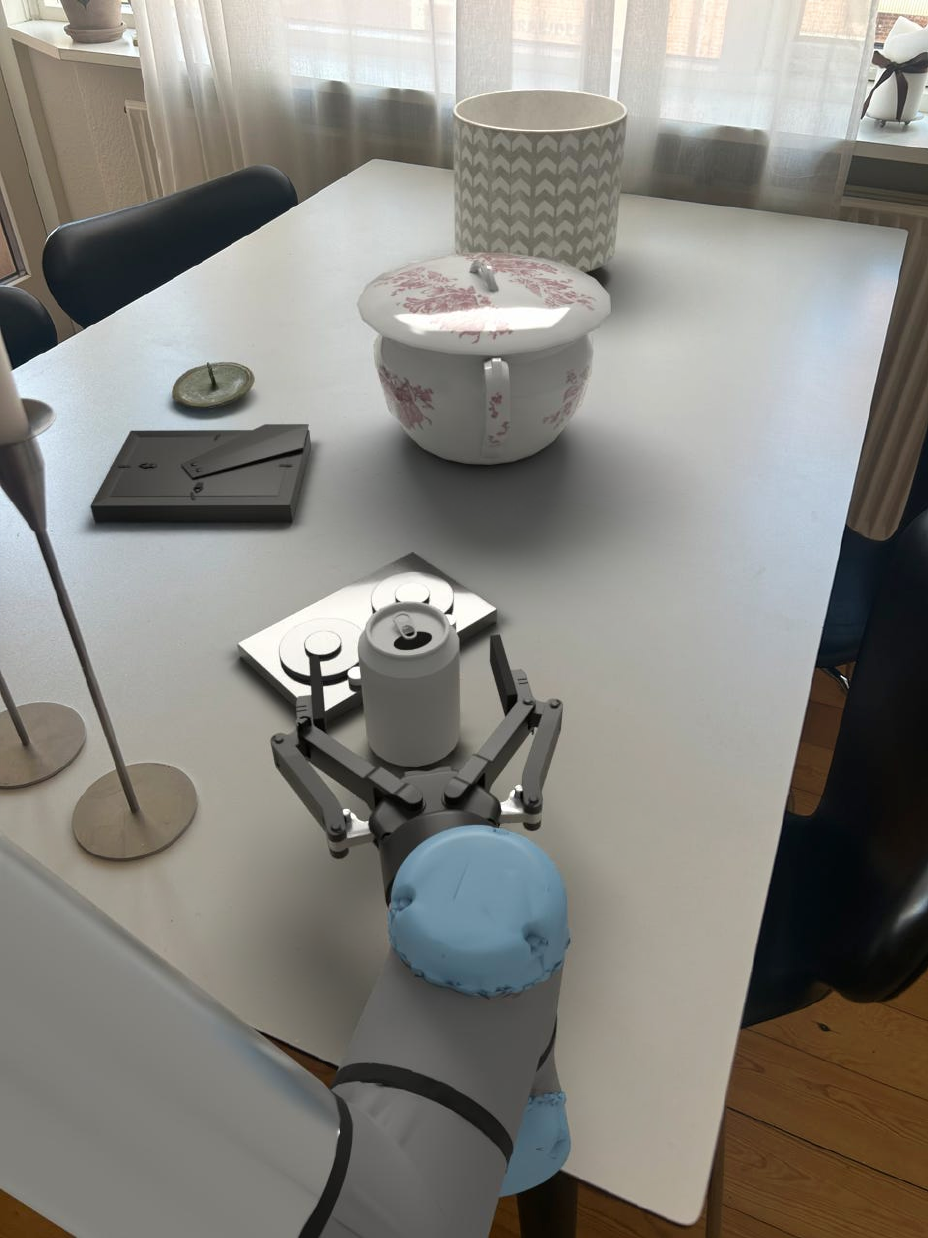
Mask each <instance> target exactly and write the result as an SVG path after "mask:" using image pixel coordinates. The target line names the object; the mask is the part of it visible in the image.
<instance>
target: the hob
mask: <svg viewBox="0 0 928 1238" xmlns="http://www.w3.org/2000/svg"><path fill="white" fill-rule="evenodd" d="M404 601H413V602H421V603H426V604H430V605H432V606H434V607H436V608H438V609H439V610H441V611H442V612H443V613H444V614H445V615H446V616H447V618H448V620H449V623H450V625H451V626H452V627H453V628H454V629H455V630H456V632H457V635H458V637H459V645H460V644H462V643H464V642H465V641H467V640H469V639H470V638H472V637H473V636H475V635H477V634H478V633H480V632H482V631H483V630H485V629H486V628H488V627H490V626H492V625H493V624H495V623H496V622H498V608H496V607H495V606H494V605H492V604H491V603H489V602H487V600H484V599H483V598H482V597H480V596H479V595H477V594H476V593H474V592H473V591H472V590H470V589H468V588H467V587H466V586H464V585H463V584H461V583H460V582H458V581H457V580H455V579H453V577H450V576H449V575H448V574H447V573H445V572H444V571H442V570H441V569H439V568H438V567H436V566H435V565H433V564H432V563H430V562H429V561H427V560H426V559H424V558H423V557H421V556H420V555H418V554H417V553H415V552H414V551H411V552H409V553H408V554H407V553H406V555H404V556H401V557H399V558H398V559H395V560H394V561H392V562H390V563H388V564H386V565H384V566H383V567H381V568H379V569H377V570H375V571H373V572H371V573H369V574H367V575H365V576H363V577H362V578H360V579H358V580H356V581H354V582H351V583H350V584H348V585H346V586H344V587H342V588H340V589H338V590H337V591H335V592H333V593H331V594H329V595H327V596H325V597H323V598H321V599H319V600H317V601H315V602H314V603H312V604H309V605H308V606H306V607H304V608H302V609H301V610H298V611H296V612H295V613H293V614H291V615H289V616H287V617H285V618H283V619H281V620H279V621H277V622H276V623H274V624H272V625H269V626H268V627H265V628H264V629H262V630H260V631H258V632H256V633H255V634H252V635H251V636H249V637H247V638H244V639H243V640H241V641H239V642H237V644H236V645H237V649H238V650H237V651H238V654H239V657H240V658H242V660H243V661H244V662H245V663H246V664H248V665H249V666H250V667H251V668H252V669H253V670H254V671H255V672H256V673H257V674H258V675H260V676H261V677H262V678H263V679H264V680H265V681H266V682H267V683H268V684H270V685H271V686H272V687H273V689H275V690H276V691H277V692H278V694H281V696H283V698H284V699H286V700H287V701H288V702H289V703H290V704H291V705H292V706H293V707H294V708H296V700H297V698H298V696H305V695H311V682H310V667H309V656H317V655H319V659H320V666H321V673H322V680H323V692H324V704H325V717H326V726H327V725H328V724H330V723H332V722H333V721H335V720H336V719H338V718H340V717H341V716H343V715H344V714H347V713H348V712H350V711H351V710H353V709H354V708H356V707H358V706H360V705H361V704H363V696H362V686H361V677H360V667H359V658H358V648H357V647H358V642H359V637H360V635H361V634H362V632H363V631H364V629H365V627H366V623H367V621H368V620H369V618H370V617H371V615H372V614H374V613H375V612H376V611H378V610H379V609H381V608H383V607H385V606H388V605H390V604H393V603H398V602H404Z"/></svg>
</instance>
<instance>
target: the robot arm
mask: <svg viewBox="0 0 928 1238" xmlns="http://www.w3.org/2000/svg"><path fill="white" fill-rule="evenodd" d="M489 665H490V668H491V671H492V672H491V673H492V675H493V678H494V682H495V686H496V689H497V693H498V696H499V700H500V704H501V707H502V711H503V715H504V718H503V719H502V720H501V722H500V723H499V725H498V726H497V727H496V729H495V730H494V731H493V732H492V733H491V735H490V736H489V737H488V739H487V740H486V741H485V742H484V744H483V745H482V747H481V748H480V749H479V751H478V752H477V753H472V754H471V756H469V758H468V759H467V761H466V762H465V763H464V765H463V766H462V767H461V768H460V769H459V770H458V769H452V765H446V766H440V767H439V766H438V767H436V768H433V769H431V770H410V771H404V772H403V775H402V776H400V777H397V776H396V775H394V774H393V773H391V772H390V771H389V770H387V769H386V768H384V767H383V766H381V765H378V766H377V767H376V766H374V765H373V764H371V763H370V762H368V761H367V760H365V759H364V758H363V757H362V756H360V755H358V754H356V753H355V752H354V751H352V750H351V749H349V748H348V747H346V746H345V745H343V744H342V743H340V742H339V741H338V740H336V739H334V738H333V736H331V735H329V734H328V731H327V730H328V729H327V725H326V717H325V704H324V692H323V680H322V673H321V666H320V659H319V655H317V656H309V667H310V682H311V695H305V696H298V698H297V700H296V707H295V715H296V719H295V721H294V722H295V730H294V731H292V732H290V733H288V734H286V733H283V732H278V733H275V734H273V735H272V736H271V737H270V740H269V743H270V748H271V753H272V757H273V762H274V766H275V768H276V770H277V771H278V772H279V774H280V775H281V776H282V778H284V780H285V781H286V783H287V784H288V785H289V787H290V788H291V789H292V791H293V792H294V793H295V794H296V796H297V797H298V798H299V800H300V801H301V802H302V804H303V805H304V806H305V808H306V809H307V810H308V811H309V813H310V814H311V815H312V817H313V818H314V820H315V821H316V822H317V823H318V824H319V826H320V827H321V829H322V830H323V832H325V836H326V840H327V845H328V850H329V854H330V857H332V858H333V859H336V860H341V859H344V858H346V857H347V856H348V855H349V854H350V848H352V847H357V846H361V845H365V844H368V843H372V844H373V845H374V846H375V847H376V848H377V850H378V853H379V859H380V867H381V876H382V885H383V893H384V901H385V904H386V907H387V913H386V915H387V927H388V928H387V933H388V935H389V941H390V946H389V947H390V948H389V950H388V953H387V956H386V958H385V961H384V963H383V965H382V968H381V970H380V972H379V974H378V977H377V978H376V981H375V983H374V986H373V989H372V991H371V993H370V995H369V997H368V999H367V1002H366V1004H365V1007H364V1009H363V1011H362V1014H361V1016H360V1018H359V1021H358V1023H357V1025H356V1028H355V1030H354V1032H353V1034H352V1037H351V1039H350V1041H349V1044H348V1046H347V1048H346V1051H345V1053H344V1055H343V1058H342V1060H341V1062H340V1064H339V1067H338V1069H337V1070H336V1073H335V1075H334V1077H333V1079H332V1082H331V1084H330V1087H328V1086H327V1085H326V1084H325V1083H324V1082H323V1081H322V1080H321V1079H319V1078H318V1077H317V1076H315V1075H314V1074H313V1073H312V1072H310V1071H309V1070H307V1068H305V1067H304V1066H303V1065H301V1064H300V1063H299V1062H297V1061H296V1060H294V1058H292V1057H291V1056H290V1055H288V1054H287V1053H286V1052H284V1051H283V1050H282V1049H280V1048H279V1047H278V1046H277V1045H275V1044H274V1043H273V1042H271V1041H270V1040H269V1039H268V1038H266V1037H265V1036H264V1035H262V1034H261V1033H260V1032H259V1031H258V1030H256V1029H255V1028H254V1027H252V1025H250V1024H249V1023H247V1022H246V1021H245V1020H244V1019H242V1018H241V1017H240V1016H239V1015H237V1014H236V1013H234V1012H233V1011H232V1010H231V1009H229V1008H228V1007H227V1006H225V1005H224V1004H223V1003H222V1002H220V1001H219V1000H218V999H217V998H215V997H214V996H212V994H210V993H209V992H207V991H206V990H205V989H204V988H202V987H201V986H200V985H198V984H197V983H196V982H194V980H192V979H191V978H189V977H188V976H187V975H185V974H184V973H183V972H182V971H181V970H179V969H178V968H177V967H175V966H174V965H173V964H171V963H170V962H169V961H168V960H166V959H165V958H164V957H163V956H161V955H160V954H159V953H158V952H156V951H155V950H154V949H153V948H151V947H150V946H149V945H147V944H146V943H145V942H143V941H142V940H141V939H140V938H138V937H137V936H136V935H134V934H133V933H132V932H131V931H129V930H128V929H126V928H125V927H124V926H123V925H121V924H120V923H119V922H118V921H116V920H115V919H114V918H112V917H111V916H110V915H109V914H107V913H106V912H105V911H104V910H102V909H101V908H100V907H98V906H97V905H96V904H95V903H94V902H92V901H91V900H90V899H88V898H87V897H86V896H85V895H83V894H82V893H81V892H79V891H78V890H77V889H75V888H74V887H73V886H72V885H70V884H69V883H68V882H66V881H65V880H63V878H61V877H60V876H59V875H58V874H56V873H54V871H52V870H51V869H50V868H48V867H47V866H46V865H44V864H43V863H42V862H41V861H39V860H38V859H37V858H35V857H34V856H33V855H32V854H30V853H29V852H28V851H26V850H25V849H24V848H23V847H21V846H20V845H19V844H17V843H16V842H15V841H14V840H13V839H11V838H10V837H9V836H8V835H6V834H5V833H3V832H2V831H1V830H0V1189H1V1190H2V1191H3V1192H5V1193H7V1194H8V1195H10V1196H11V1197H13V1198H14V1199H16V1200H17V1201H18V1202H20V1203H22V1204H24V1205H25V1206H27V1207H29V1208H30V1209H32V1210H33V1211H35V1212H36V1213H38V1214H39V1215H41V1216H42V1217H44V1218H46V1219H47V1220H48V1221H50V1222H52V1223H53V1224H55V1225H56V1226H58V1227H59V1228H61V1229H63V1230H64V1231H65V1232H67V1233H69V1234H70V1235H72V1236H74V1237H75V1238H489V1235H490V1232H491V1229H492V1225H493V1221H494V1217H495V1213H496V1210H497V1206H498V1203H499V1198H502V1197H507V1196H512V1195H515V1194H519V1193H522V1192H525V1191H527V1190H530V1189H532V1188H535V1187H536V1186H539V1185H540V1184H543V1183H544V1182H546V1181H547V1180H549V1179H551V1178H552V1177H553V1176H555V1175H556V1174H557V1173H558V1172H560V1170H562V1168H563V1166H564V1165H566V1162H567V1160H568V1158H569V1157H570V1153H571V1150H572V1138H571V1133H570V1127H569V1121H568V1115H567V1109H566V1103H567V1095H566V1092H565V1091H562V1087H561V1083H560V1079H559V1075H558V1071H557V1065H556V1058H555V1050H556V1049H555V1048H556V1041H557V1028H558V1006H559V999H560V994H561V993H560V992H561V985H562V980H563V979H562V978H563V971H564V964H565V956H566V951H567V950H568V949H569V946H570V944H571V934H572V933H571V930H570V928H569V927H568V926H569V920H568V919H569V918H568V894H567V890H566V885H565V883H564V880H563V877H562V875H561V873H560V871H559V869H558V867H557V865H556V864H555V863H554V861H553V860H552V858H551V857H549V855H548V854H547V852H545V851H544V850H543V849H542V848H541V847H539V846H538V845H537V844H536V843H535V842H533V841H532V840H530V839H529V838H528V837H525V836H524V835H522V834H519V833H517V832H513V831H511V830H508V829H505V828H501V825H502V824H521V823H522V827H523V828H524V830H527V831H528V832H536V831H538V830H539V829H540V828H541V827H542V819H543V818H542V817H543V816H542V815H543V803H544V798H543V789H544V786H545V783H546V779H547V776H548V773H549V770H550V767H551V764H552V760H553V757H554V753H555V751H556V748H557V744H558V741H559V737H560V735H561V732H562V723H563V711H564V703H563V702H562V700H560V699H558V698H550V699H548V700H546V701H545V702H544V701H541V700H540V701H539V700H537V699H536V698H535V697H534V696H533V693H532V690H531V686H530V683H529V680H528V677H527V674H526V672H525V671H524V670H523V669H522V668H521V669H520V668H519V669H511V667H510V664H509V660H508V656H507V653H506V650H505V647H504V644H503V640H502V636H501V634H491V635H489ZM535 729H536V731H535ZM530 734H531V735H532V736H534V738H533V740H532V744H531V747H530V749H529V753H528V756H527V758H526V761H525V764H524V768H523V770H522V775H521V785H520V784H516V786H514V789H512V790H511V791H510V792H509V796H508V798H507V799H506V800H504V801H501V802H500V800H499V799H498V798H497V796H495V795H494V794H492V792H491V789H492V786H493V784H494V783H495V782H496V780H497V779H498V777H499V776H500V775H501V773H502V772H503V771H504V769H505V768H506V767H507V765H508V764H509V763H510V761H511V760H512V759H513V757H514V756H515V754H516V753H517V752H518V750H519V749H520V748H521V746H522V745H523V744H524V742H525V741H526V739H527V738H528V737H529V736H530ZM534 734H535V735H534ZM313 766H314V767H315V768H317V769H318V770H319V771H321V772H322V773H324V774H325V775H326V776H328V777H329V778H330V779H332V780H333V781H335V782H336V783H337V784H339V785H340V786H341V787H343V788H345V789H346V790H348V791H349V792H350V793H352V794H353V795H354V796H356V797H357V798H359V799H360V800H361V801H363V802H364V803H365V804H366V806H367V807H368V808H369V810H370V811H371V813H370V815H369V817H368V820H365V821H364V820H361V819H358V818H357V816H356V814H355V813H354V812H351V809H349V808H343V809H342V806H341V803H340V801H339V799H338V798H337V796H336V795H335V794H334V792H333V791H332V790H331V789H330V787H329V786H328V784H327V783H326V782H325V781H324V780H323V778H321V776H320V775H319V773H318V772H317V771H316V770H315V768H314V767H313Z"/></svg>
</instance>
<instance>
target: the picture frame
mask: <svg viewBox="0 0 928 1238" xmlns="http://www.w3.org/2000/svg"><path fill="white" fill-rule="evenodd" d="M309 427H310V426H309V423H264V424H262V425H260V426H259V427H255V428H254V429H194V430H193V429H187V430H186V429H182V430H181V429H176V430H175V429H173V430H171V429H170V430H168V429H167V430H166V429H165V430H151V429H149V430H145V429H144V430H129V433H128V435H127V437H126V438H125V440H124V441H123V444H122V446H121V448H120V450H119V452H118V453H117V455H116V457H115V459H114V461H113V462H112V465H111V467H110V468H109V469H108V472H107V474H106V475H105V477H104V479H103V481H102V483H101V485H100V486H99V488H98V491H97V492H96V494H95V496H94V498H93V500H92V502H91V504H90V505H89V507H90V510H91V513H92V517H93V520H94V523H240V522H241V523H259V522H260V523H264V522H265V523H270V522H271V523H273V522H275V523H279V522H280V523H283V522H284V523H285V522H287V523H288V522H289V523H290V522H291V523H292V522H293V521H294V517H295V513H296V509H297V505H298V500H299V496H300V492H301V488H302V484H303V480H304V476H305V472H306V467H307V463H308V459H309V455H310V452H311V447H312V441H311V434H310V429H309Z"/></svg>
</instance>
